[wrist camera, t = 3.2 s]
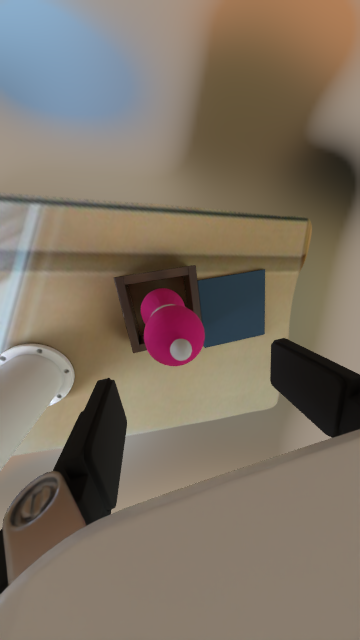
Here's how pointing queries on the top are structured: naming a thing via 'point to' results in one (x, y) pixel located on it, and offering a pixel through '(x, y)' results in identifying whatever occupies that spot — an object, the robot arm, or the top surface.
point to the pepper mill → (171, 328)
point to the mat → (232, 307)
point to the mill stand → (123, 281)
